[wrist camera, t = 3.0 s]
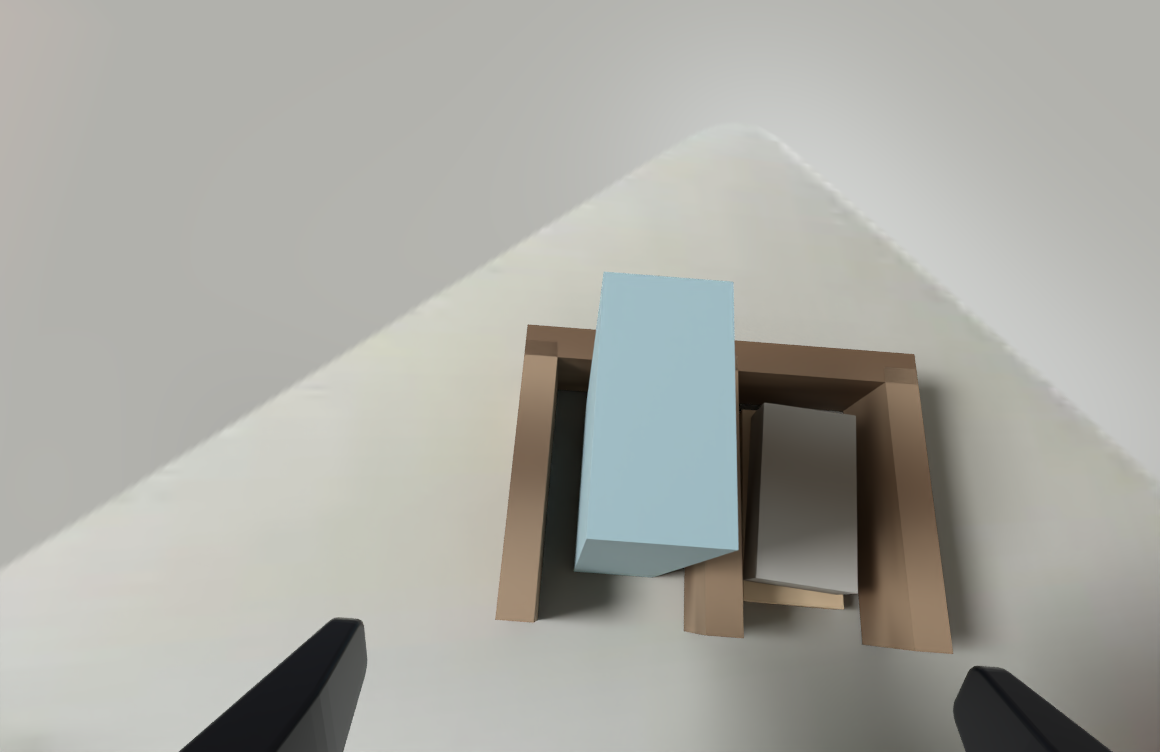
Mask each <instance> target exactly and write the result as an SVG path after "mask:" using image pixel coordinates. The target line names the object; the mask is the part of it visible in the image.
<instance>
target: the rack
mask: <svg viewBox="0 0 1160 752" xmlns="http://www.w3.org/2000/svg"><path fill="white" fill-rule="evenodd" d="M595 335H596V330H591V329H578V328H565V327H552V326H539V325H528V327H527V336H526V346H525V355H524V364H523V373H522V382H521V391H520V400H519V409H518V418H517V427H516V436H515V446H514V455H513V464H512V473H511V482H510V491H509V500H508V509H507V518H506V527H505V536H504V546H503V555H502V564H501V573H500V582H499V591H498V600H497V609H496V618H495V620H507V621H520V622H535V621H537V620H538V609H539V597H540V586H541V574H542V563H543V552H544V540H545V529H546V517H547V506H548V495H549V483H550V472H551V460H552V449H553V438H554V426H555V415H556V403H557V392H558V390H571V391H584V392H588V388H589V380H590V373H591V365H592V358H593V350H594V342H595ZM734 342H735V393H736V445H737V497H738V548H739V550H737V551H734V552H731V553H728V554H725V555H722V556H719V557H715V558H712V559H709V560H706V561H703V562H700V563H697V564H693V565H690V566H687V567H685V576H684V631H686V632H691V633H696V634H701V635H708V636H721V637H734V638H744V629H743V582H742V535H741V487H740V440H739V403H741V404H754V405H763V404H764V403H771V404H778V405H785V406H792V407H799V408H806V409H819V410H833V411H843V414H848V415H855V416H856V472H857V574H858V596H859V608H860V620H861V632H862V644H863V645H871V646H879V647H887V648H895V649H903V650H911V651H922V652H935V653H948V654H953V649H952V641H951V633H950V626H949V618H948V610H947V603H946V595H945V587H944V579H943V572H942V564H941V556H940V549H939V541H938V533H937V525H936V518H935V510H934V502H933V495H932V487H931V479H930V471H929V464H928V456H927V448H926V441H925V433H924V425H923V417H922V410H921V402H920V394H919V387H918V379H917V371H916V363H915V356H914V354H904V353H891V352H878V351H865V350H852V349H839V348H826V347H813V346H800V345H787V344H774V343H761V342H748V341H735V340H734Z"/></svg>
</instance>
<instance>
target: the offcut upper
mask: <svg viewBox="0 0 1160 752" xmlns="http://www.w3.org/2000/svg"><path fill="white" fill-rule="evenodd" d="M743 580H745V581H751V582H757V583H764V584H770V585H777V586H783V587H790V588H796V589H802V590H809V591H815V592H822V593H828V594H835V595H840V594H857V593H858V574H857V472H856V416H855V415H848V414H841V413H834V412H827V411H820V410H813V409H806V408H799V407H792V406H785V405H778V404H771V403H764V404H763V405H762V406H761V407H760V408H759V409H758V410H757V411H756V412H755V413H754V414H753V416H752V417H751V433H750V452H749V471H748V490H747V509H746V528H745V547H744V565H743Z"/></svg>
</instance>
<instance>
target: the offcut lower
mask: <svg viewBox="0 0 1160 752" xmlns="http://www.w3.org/2000/svg"><path fill="white" fill-rule="evenodd" d="M755 412H756V411H755V410H744V409H742V410H741V412H740V413H739V440H740V487H741V535H742V582H743V601H747V602H758V603H769V604H780V605H791V606H801V607H812V608H823V609H844V604H843V594H840V595H835V594H828V593H822V592H815V591H809V590H802V589H796V588H790V587H783V586H777V585H770V584H764V583H757V582H751V581H745V580H743V565H744V547H745V528H746V509H747V490H748V471H749V452H750V433H751V417H752V416H753V414H754V413H755Z"/></svg>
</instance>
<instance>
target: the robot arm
mask: <svg viewBox="0 0 1160 752" xmlns="http://www.w3.org/2000/svg"><path fill="white" fill-rule="evenodd" d="M366 668H367V651H366V641H365V632H364V625H363V622H362V621H361V620H359V619H353V618H340V617H338V618H334V619H332V620H330V621H329V622H328V623H327V624H325V625H324V626H323V627H322V628H321V629H320V630H318V631H317V632H316V633H315V634H314V635H313V636H312V637H310V638H309V639H308V640H307V641H306V642H305V643H303V644H302V645H301V646H300V647H299V648H298V649H297V650H295V651H294V652H293V653H292V654H291V655H290V656H289V657H287V658H286V659H285V660H284V661H283V662H282V663H280V664H279V665H278V666H277V667H276V668H275V669H274V670H272V671H271V672H270V673H269V674H268V675H267V676H265V677H264V678H263V679H262V680H261V681H260V682H259V683H257V684H256V685H255V686H254V687H253V688H252V689H251V690H249V691H248V692H247V693H246V694H245V695H244V696H242V697H241V698H240V699H239V700H238V701H237V702H236V703H234V704H233V705H232V706H231V707H230V708H229V709H227V710H226V711H225V712H224V713H223V714H222V715H221V716H219V717H218V718H217V719H216V720H215V721H214V722H213V723H211V724H210V725H209V726H208V727H207V728H206V729H204V730H203V731H202V732H201V733H200V734H199V735H198V736H196V737H195V738H194V739H193V740H192V741H191V742H189V743H188V744H187V745H186V746H185V747H184V748H183V749H181V750H180V751H179V752H343V750H344V747H345V743H346V740H347V736H348V733H349V730H350V726H351V723H352V719H353V716H354V712H355V709H356V705H357V702H358V698H359V695H360V691H361V688H362V684H363V681H364V677H365V673H366ZM953 713H954V719H955V723H956V725H957V728H958V731H959V734H960V737H961V740H962V743H963V746H964V749H965V751H966V752H1112V751H1111V750H1109V749H1108V748H1107V747H1106V746H1104V745H1103V744H1102V743H1100V742H1099V741H1098V740H1096V739H1095V738H1094V737H1093V736H1091V735H1090V734H1089V733H1087V732H1086V731H1085V730H1084V729H1082V728H1081V727H1080V726H1078V725H1077V724H1076V723H1074V722H1073V721H1072V720H1071V719H1069V718H1068V717H1067V716H1065V715H1064V714H1063V713H1061V712H1060V711H1059V710H1058V709H1056V708H1055V707H1054V706H1052V705H1051V704H1050V703H1049V702H1047V701H1046V700H1045V699H1043V698H1042V697H1041V696H1039V695H1038V694H1037V693H1036V692H1034V691H1033V690H1032V689H1030V688H1029V687H1028V686H1026V685H1025V684H1024V683H1023V682H1021V681H1020V680H1019V679H1017V678H1016V677H1015V676H1014V675H1012V674H1011V673H1009V672H1008V671H1007V670H1005V669H1002V668H998V667H986V666H974V667H973V668H971V669H970V670H969V672H968V674H967V676H966V678H965V680H964V682H963V684H962V686H961V688H960V691H959V693H958V695H957V697H956V699H955V702H954V707H953Z"/></svg>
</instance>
